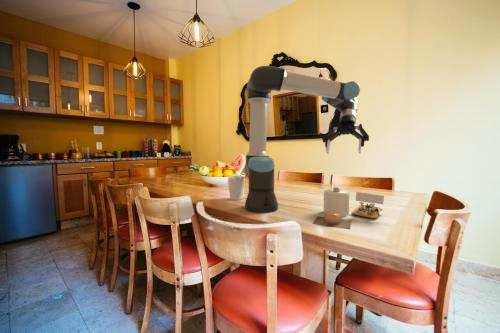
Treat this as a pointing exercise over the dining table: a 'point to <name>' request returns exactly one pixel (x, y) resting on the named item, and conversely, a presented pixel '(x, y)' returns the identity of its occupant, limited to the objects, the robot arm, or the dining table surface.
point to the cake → (368, 210)
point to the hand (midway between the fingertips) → (342, 151)
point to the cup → (236, 187)
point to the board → (343, 224)
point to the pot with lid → (336, 201)
